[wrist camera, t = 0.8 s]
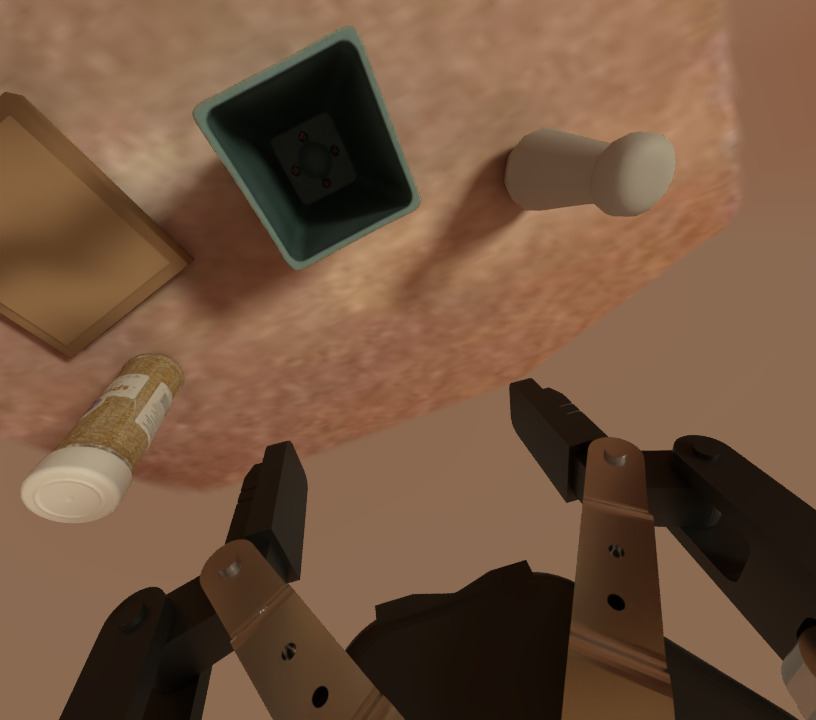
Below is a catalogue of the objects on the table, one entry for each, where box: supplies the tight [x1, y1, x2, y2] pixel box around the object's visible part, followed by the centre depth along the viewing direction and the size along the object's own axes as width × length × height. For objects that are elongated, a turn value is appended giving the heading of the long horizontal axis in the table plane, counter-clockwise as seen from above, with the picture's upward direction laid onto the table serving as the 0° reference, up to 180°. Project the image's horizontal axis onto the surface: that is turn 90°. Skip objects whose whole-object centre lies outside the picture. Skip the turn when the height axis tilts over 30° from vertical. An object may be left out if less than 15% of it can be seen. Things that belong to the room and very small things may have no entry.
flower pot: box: [193, 26, 421, 271], centre depth 23 cm, size 9×9×9 cm
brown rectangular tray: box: [0, 92, 194, 358], centre depth 24 cm, size 12×12×2 cm
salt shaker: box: [504, 128, 676, 217], centre depth 25 cm, size 6×6×13 cm
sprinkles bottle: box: [20, 354, 184, 524], centre depth 26 cm, size 5×5×13 cm
